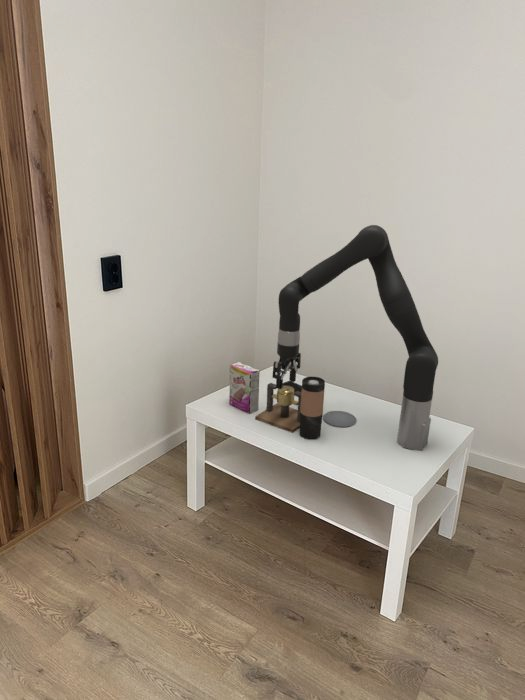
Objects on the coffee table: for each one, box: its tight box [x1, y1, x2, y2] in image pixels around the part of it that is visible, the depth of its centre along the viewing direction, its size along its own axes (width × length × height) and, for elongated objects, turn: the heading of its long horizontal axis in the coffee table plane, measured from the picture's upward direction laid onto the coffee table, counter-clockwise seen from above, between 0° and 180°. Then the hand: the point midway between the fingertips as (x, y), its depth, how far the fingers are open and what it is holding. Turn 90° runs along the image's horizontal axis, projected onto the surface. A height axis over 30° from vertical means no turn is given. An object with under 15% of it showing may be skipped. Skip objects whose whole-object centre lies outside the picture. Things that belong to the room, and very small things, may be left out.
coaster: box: [322, 410, 357, 429], centre depth 200 cm, size 12×12×1 cm
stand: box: [254, 382, 302, 433], centre depth 197 cm, size 16×14×12 cm
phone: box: [283, 380, 302, 393], centre depth 223 cm, size 8×1×15 cm
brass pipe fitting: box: [272, 386, 298, 407], centre depth 196 cm, size 11×6×5 cm, turn 55°
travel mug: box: [299, 376, 326, 440], centre depth 185 cm, size 8×8×20 cm
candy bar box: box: [228, 361, 260, 415], centre depth 204 cm, size 11×5×16 cm, turn 46°
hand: (285, 384), depth 194 cm, fingers open, 8 cm apart
